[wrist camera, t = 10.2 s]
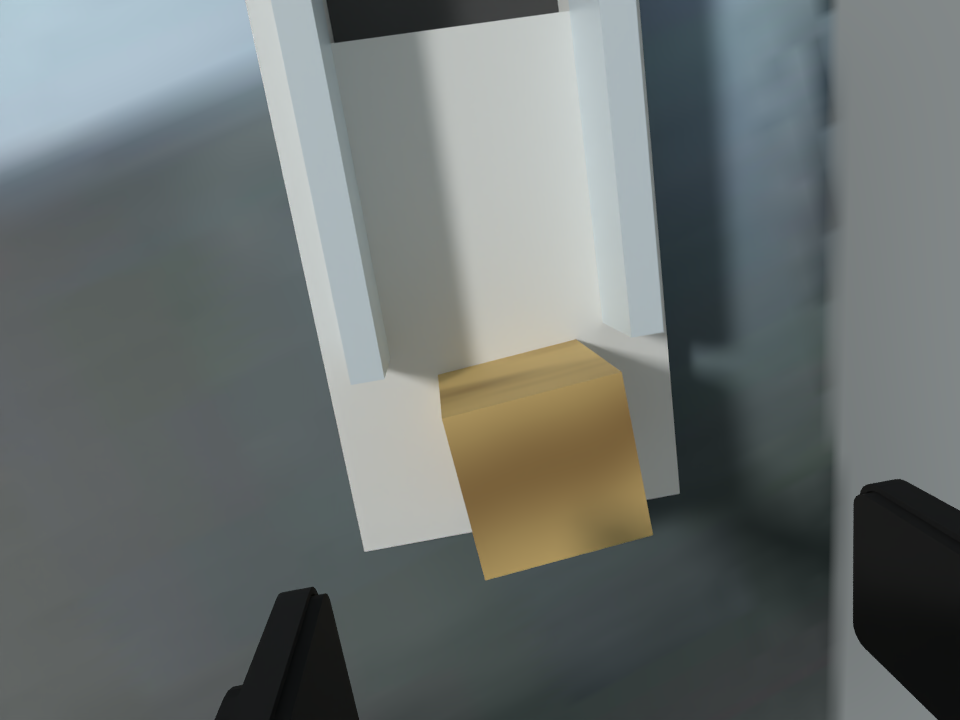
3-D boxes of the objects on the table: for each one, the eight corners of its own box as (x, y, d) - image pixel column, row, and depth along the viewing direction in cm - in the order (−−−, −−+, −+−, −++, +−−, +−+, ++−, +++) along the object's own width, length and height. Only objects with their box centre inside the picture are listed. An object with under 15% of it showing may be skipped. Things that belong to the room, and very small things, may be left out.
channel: (664, 477, 24) (717, 532, 20) (368, 531, 23) (355, 600, 19) (602, -226, 19) (655, -365, 14) (216, -181, 18) (149, -313, 14)
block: (602, 468, 22) (653, 535, 17) (472, 502, 22) (485, 580, 17) (576, 339, 21) (621, 371, 16) (437, 374, 21) (441, 418, 16)
